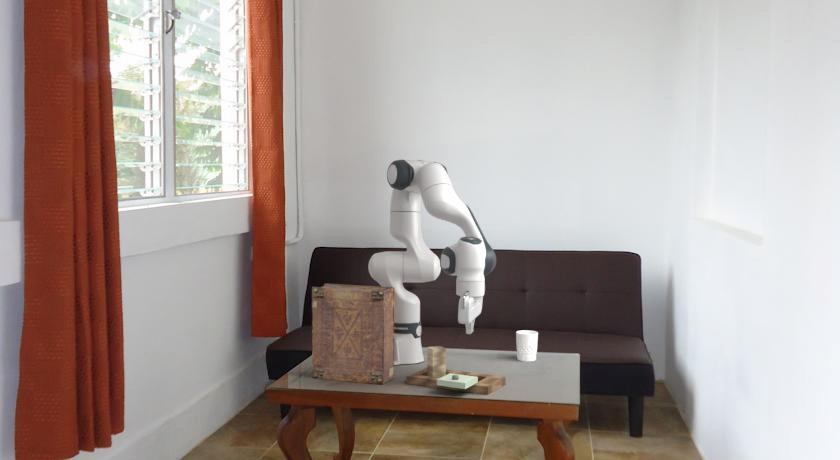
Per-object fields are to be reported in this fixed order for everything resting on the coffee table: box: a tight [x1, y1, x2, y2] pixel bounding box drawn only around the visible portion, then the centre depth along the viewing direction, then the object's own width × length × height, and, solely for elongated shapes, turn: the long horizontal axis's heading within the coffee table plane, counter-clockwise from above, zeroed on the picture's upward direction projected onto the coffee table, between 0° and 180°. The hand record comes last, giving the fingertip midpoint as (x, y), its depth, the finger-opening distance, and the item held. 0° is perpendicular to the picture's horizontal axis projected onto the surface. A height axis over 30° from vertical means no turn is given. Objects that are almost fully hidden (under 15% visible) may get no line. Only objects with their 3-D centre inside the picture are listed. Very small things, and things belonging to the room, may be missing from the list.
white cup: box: [515, 329, 539, 363], centre depth 307 cm, size 8×8×10 cm
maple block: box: [426, 345, 447, 378], centre depth 274 cm, size 4×4×11 cm
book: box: [311, 283, 395, 385], centre depth 278 cm, size 25×9×30 cm, turn 70°
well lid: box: [437, 373, 478, 389], centre depth 261 cm, size 10×9×3 cm
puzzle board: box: [406, 367, 507, 396], centre depth 272 cm, size 28×14×2 cm, turn 62°
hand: (469, 333), depth 267 cm, fingers closed
